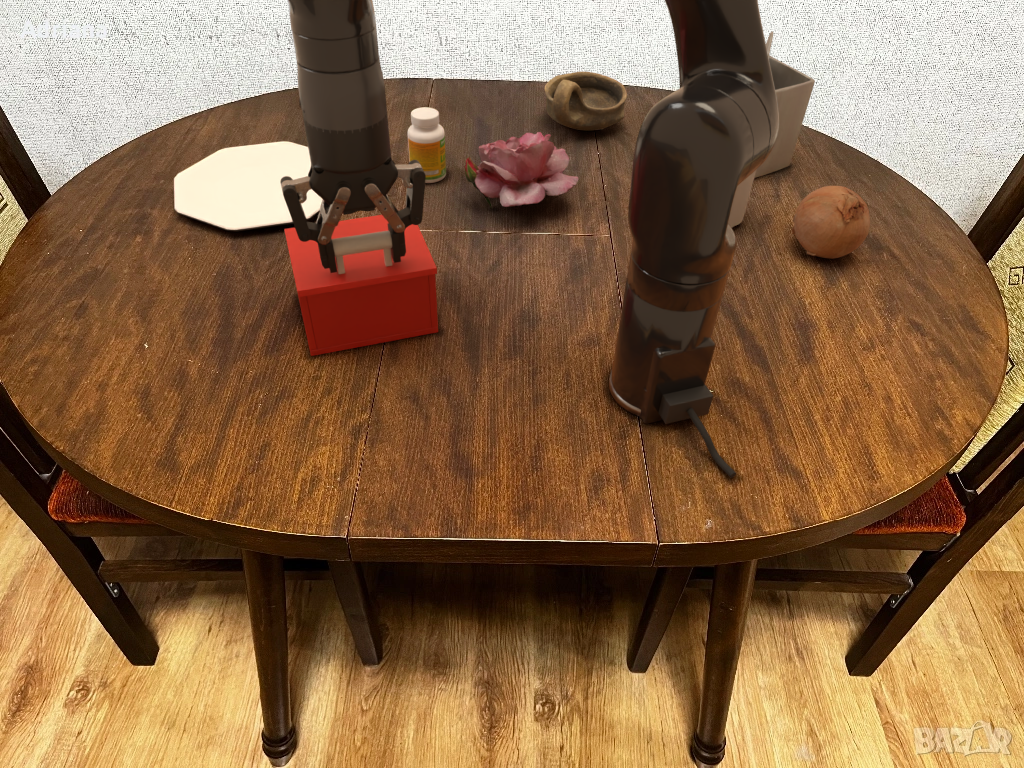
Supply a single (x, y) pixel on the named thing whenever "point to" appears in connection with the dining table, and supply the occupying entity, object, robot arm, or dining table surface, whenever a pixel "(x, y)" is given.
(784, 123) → the planter
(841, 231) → the onion
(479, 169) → the flower
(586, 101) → the bowl
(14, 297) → the dining table surface
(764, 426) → the dining table surface
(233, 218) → the plate
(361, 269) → the red box lid
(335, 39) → the robot arm
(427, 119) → the supplement bottle
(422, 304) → the red box
